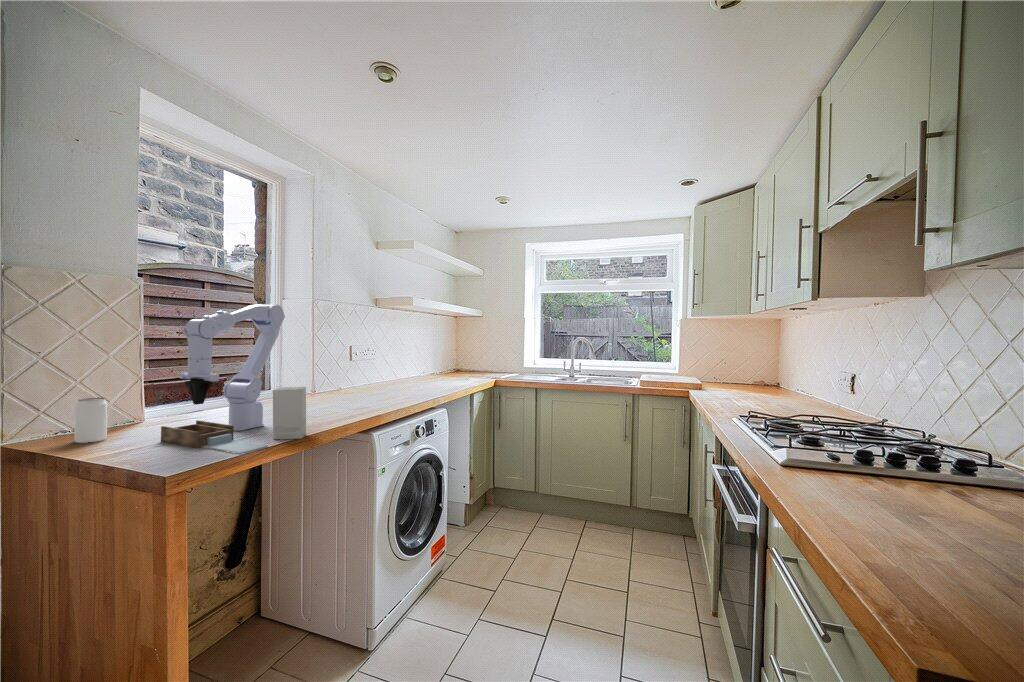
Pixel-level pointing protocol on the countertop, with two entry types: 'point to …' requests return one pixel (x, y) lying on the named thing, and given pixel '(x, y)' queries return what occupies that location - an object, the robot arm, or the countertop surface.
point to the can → (90, 420)
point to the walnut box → (194, 433)
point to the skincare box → (289, 412)
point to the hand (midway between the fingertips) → (198, 403)
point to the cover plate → (231, 444)
